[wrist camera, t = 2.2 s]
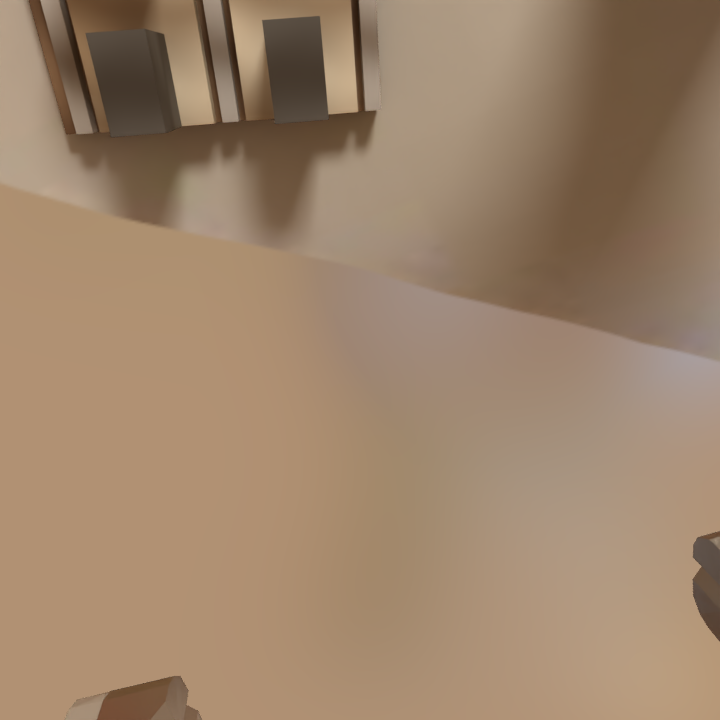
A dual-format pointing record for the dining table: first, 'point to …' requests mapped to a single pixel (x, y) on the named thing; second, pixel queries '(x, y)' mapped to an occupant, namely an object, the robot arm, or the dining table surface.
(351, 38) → the strip
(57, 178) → the dining table surface
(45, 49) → the lane board
